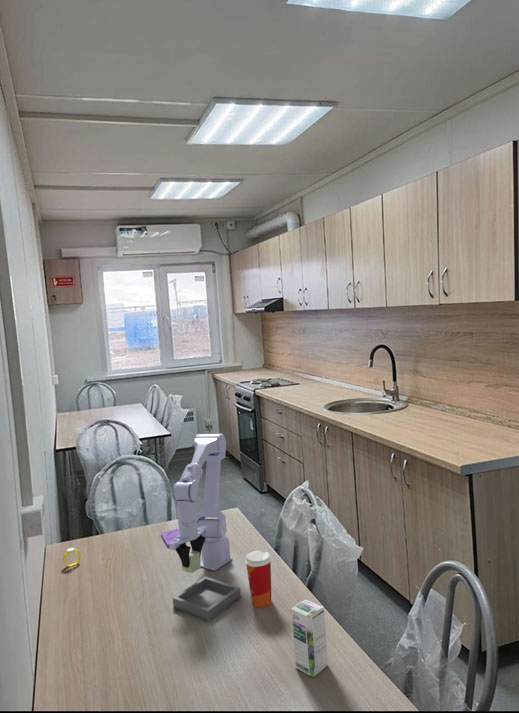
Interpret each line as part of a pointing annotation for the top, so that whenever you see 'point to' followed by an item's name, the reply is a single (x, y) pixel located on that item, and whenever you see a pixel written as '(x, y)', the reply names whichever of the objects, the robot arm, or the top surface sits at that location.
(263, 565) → the pill bottle
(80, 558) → the gold ring
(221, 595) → the tray
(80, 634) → the top surface
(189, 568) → the green block
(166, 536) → the sponges
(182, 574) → the top surface
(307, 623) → the syrup box
